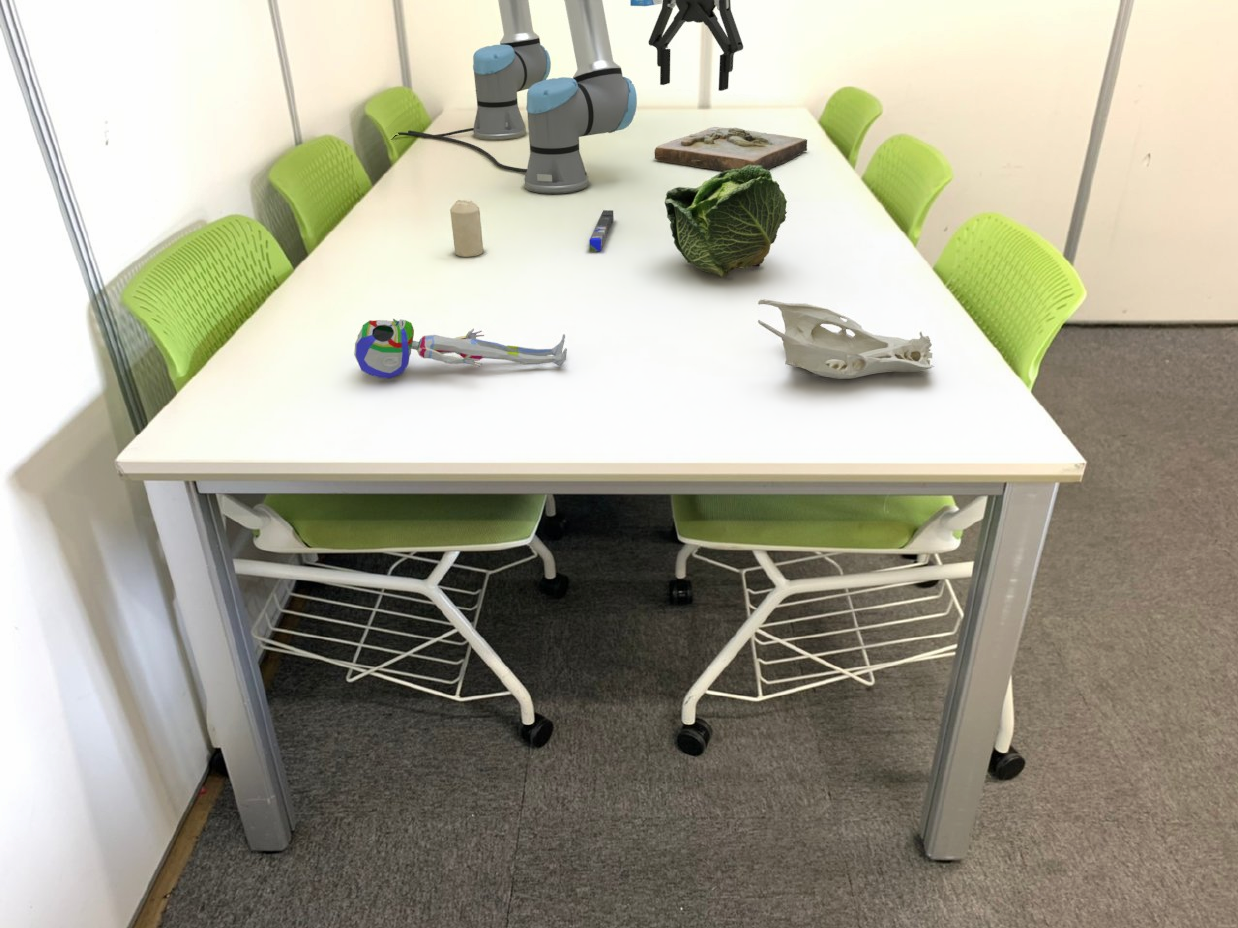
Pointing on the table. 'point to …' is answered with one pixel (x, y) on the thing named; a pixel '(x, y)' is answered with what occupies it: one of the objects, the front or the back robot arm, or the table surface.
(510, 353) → the toy
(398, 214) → the table surface
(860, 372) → the anatomical model
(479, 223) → the candle
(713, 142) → the plaque
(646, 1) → the ink box
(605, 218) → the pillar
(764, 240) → the vegetable
